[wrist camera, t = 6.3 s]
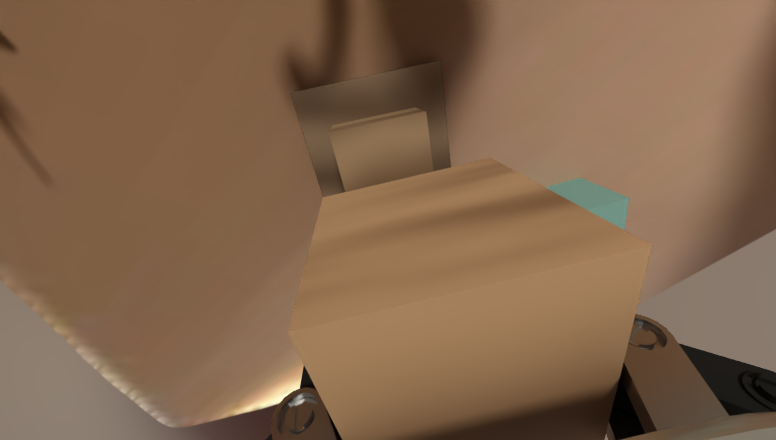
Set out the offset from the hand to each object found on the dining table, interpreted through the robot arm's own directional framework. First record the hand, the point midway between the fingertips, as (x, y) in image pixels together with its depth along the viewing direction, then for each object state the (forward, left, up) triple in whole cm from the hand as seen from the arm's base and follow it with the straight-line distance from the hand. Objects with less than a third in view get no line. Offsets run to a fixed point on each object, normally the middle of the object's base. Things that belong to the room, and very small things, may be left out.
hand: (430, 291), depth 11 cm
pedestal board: (0, 0, -18) cm, 18 cm away
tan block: (0, 0, -1) cm, 1 cm away
